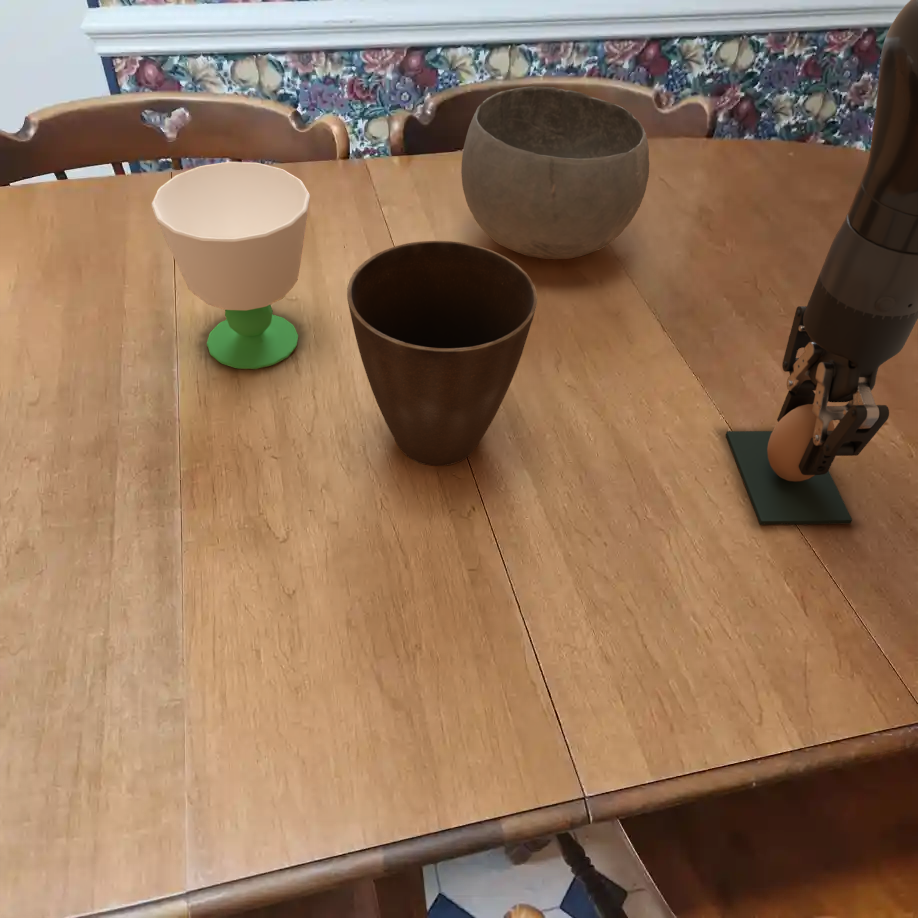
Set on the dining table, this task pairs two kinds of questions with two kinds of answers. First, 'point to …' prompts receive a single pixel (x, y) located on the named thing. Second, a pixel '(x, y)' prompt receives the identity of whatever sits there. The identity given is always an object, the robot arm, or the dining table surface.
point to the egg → (792, 442)
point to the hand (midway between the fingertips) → (799, 447)
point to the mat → (784, 487)
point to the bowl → (553, 171)
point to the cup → (238, 252)
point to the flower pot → (440, 341)
